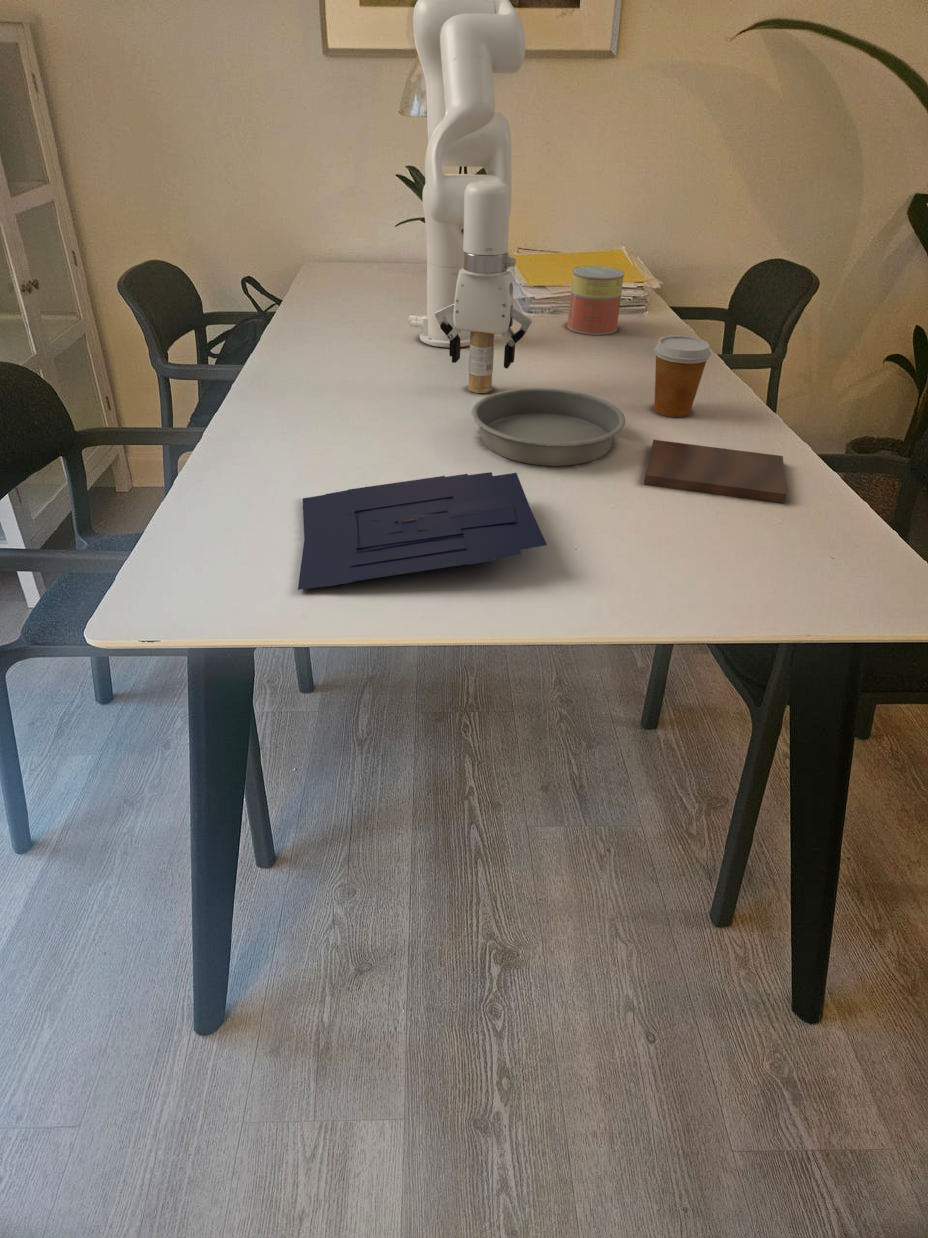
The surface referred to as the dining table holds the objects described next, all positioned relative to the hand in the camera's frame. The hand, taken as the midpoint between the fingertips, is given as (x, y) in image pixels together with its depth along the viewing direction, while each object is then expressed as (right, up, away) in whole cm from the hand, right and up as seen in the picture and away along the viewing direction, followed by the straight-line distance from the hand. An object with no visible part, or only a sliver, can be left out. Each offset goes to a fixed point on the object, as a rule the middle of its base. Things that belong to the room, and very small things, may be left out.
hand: (481, 363), depth 155 cm
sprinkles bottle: (0, -4, +3) cm, 5 cm away
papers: (-9, -36, -43) cm, 57 cm away
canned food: (+26, +20, +39) cm, 51 cm away
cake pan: (+10, -17, -15) cm, 25 cm away
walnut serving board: (+35, -24, -25) cm, 49 cm away
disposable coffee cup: (+34, -9, -3) cm, 35 cm away
